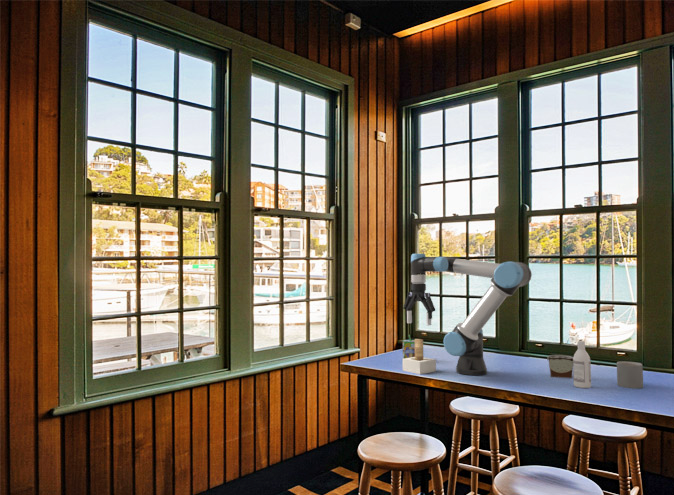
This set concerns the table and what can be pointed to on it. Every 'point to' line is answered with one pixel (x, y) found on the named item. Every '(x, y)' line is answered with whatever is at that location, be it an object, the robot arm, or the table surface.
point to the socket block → (419, 365)
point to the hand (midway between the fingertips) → (419, 324)
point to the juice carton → (408, 348)
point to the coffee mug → (630, 374)
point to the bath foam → (581, 367)
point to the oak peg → (419, 349)
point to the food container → (560, 366)
